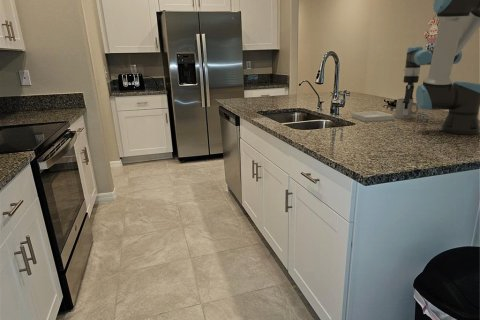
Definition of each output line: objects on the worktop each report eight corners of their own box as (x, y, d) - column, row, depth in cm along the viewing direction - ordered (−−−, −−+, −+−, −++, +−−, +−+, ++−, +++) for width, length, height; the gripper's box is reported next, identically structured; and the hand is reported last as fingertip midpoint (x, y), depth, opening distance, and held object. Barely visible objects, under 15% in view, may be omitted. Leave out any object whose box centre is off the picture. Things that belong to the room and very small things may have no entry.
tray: (376, 115, 195) (377, 111, 194) (393, 120, 181) (394, 115, 180) (351, 117, 192) (351, 112, 191) (366, 122, 177) (366, 117, 177)
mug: (392, 118, 187) (394, 99, 183) (397, 116, 192) (400, 98, 189) (414, 120, 179) (417, 101, 175) (419, 118, 184) (422, 99, 181)
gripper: (406, 74, 190) (402, 109, 196) (401, 76, 170) (396, 115, 177) (420, 74, 186) (415, 109, 192) (417, 76, 166) (411, 116, 173)
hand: (406, 112), depth 184 cm, fingers open, 13 cm apart
